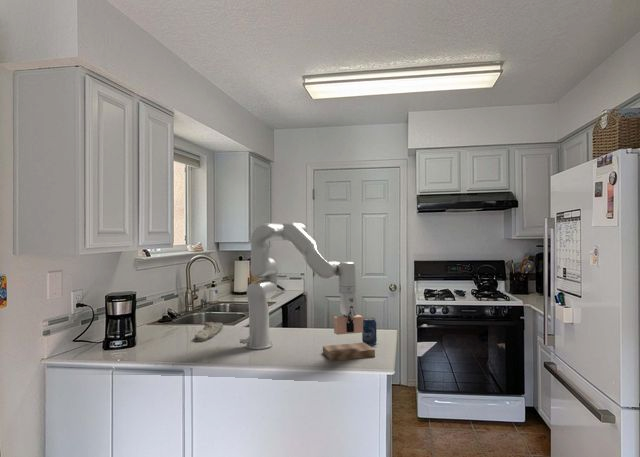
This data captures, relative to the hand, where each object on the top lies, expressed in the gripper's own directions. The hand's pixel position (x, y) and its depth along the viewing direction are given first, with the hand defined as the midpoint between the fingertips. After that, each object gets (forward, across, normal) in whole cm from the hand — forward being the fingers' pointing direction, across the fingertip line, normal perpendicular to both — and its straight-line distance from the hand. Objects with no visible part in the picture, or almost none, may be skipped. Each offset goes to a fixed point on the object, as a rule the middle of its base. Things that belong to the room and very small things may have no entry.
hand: (348, 330), depth 193 cm
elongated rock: (+11, +62, +59) cm, 86 cm away
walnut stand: (+11, 0, 0) cm, 11 cm away
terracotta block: (+1, 0, 0) cm, 1 cm away
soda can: (+11, +15, -16) cm, 25 cm away
